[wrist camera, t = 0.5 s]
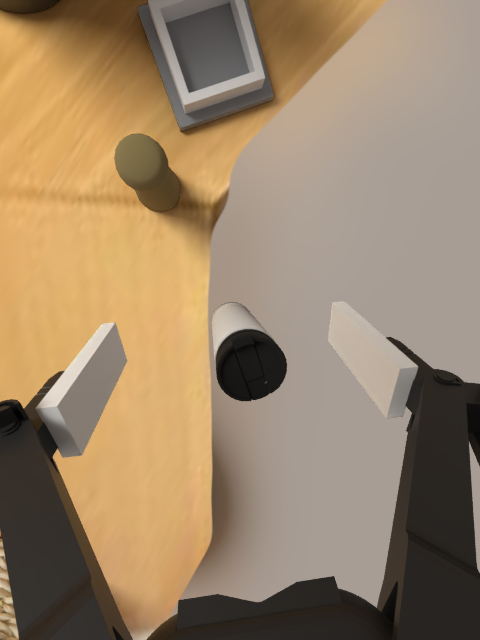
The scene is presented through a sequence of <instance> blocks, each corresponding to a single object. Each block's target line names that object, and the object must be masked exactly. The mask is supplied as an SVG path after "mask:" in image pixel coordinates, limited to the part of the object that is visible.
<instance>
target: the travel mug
mask: <svg viewBox="0 0 480 640" xmlns="http://www.w3.org/2000/svg"><path fill="white" fill-rule="evenodd" d="M212 333H213V345H214V357H215V366H216V373H217V380H218V383H219V385H220V387H221V389H222V390H223V391H224V392H225V393H226V394H227V395H229V396H230V397H231V398H234V399H236V400H239V401H251V400H256V399H260V398H263V397H265V396H267V395H268V394H269V393H272V392H274V391H275V390H276V389H278V388H279V387H280V385H281V384H282V382H283V380H284V378H285V375H286V371H287V363H286V358H285V356H284V353H283V352H282V350H281V349H280V348H279V346H278V345H277V344H276V343H275V341H274V340H273V338H272V337H271V336H270V335H269V334H268V333H267V331H266V330H265V329H264V328H263V327H262V326H261V325H260V323H259V322H258V321H257V320H256V319H255V317H254V316H253V315H252V314H251V313H250V312H249V311H248V309H247V308H246V307H245V306H243V305H242V304H239V303H236V302H228V303H225V304H222V305H221V306H219V307H218V308H217V309H216V311H215V312H214V314H213V317H212Z"/></svg>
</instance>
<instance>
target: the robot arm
mask: <svg viewBox="0 0 480 640" xmlns="http://www.w3.org/2000/svg"><path fill="white" fill-rule="evenodd" d="M58 1H59V0H0V9H3V10H7V11H10V12H17V13H32V12H37V11H41V10H44V9H46V8H48V7H50V6H52V5H54V4H55V3H56V2H58ZM328 341H329V342H330V344H331V345H332V346H333V348H334V349H335V350H336V352H337V353H338V354H339V356H340V357H341V359H342V360H343V361H344V362H345V364H346V365H347V367H348V368H349V369H350V371H351V372H352V373H353V375H354V376H355V377H356V378H357V380H358V381H359V383H360V384H361V385H362V387H363V388H364V389H365V391H366V392H367V393H368V395H369V396H370V397H371V399H372V400H373V401H374V403H375V404H376V405H377V407H378V408H379V409H380V411H381V412H382V413H383V415H384V416H385V417H386V418H394V417H403V414H404V411H405V408H406V406H407V408H408V409H409V410H410V411H411V412H412V415H411V418H410V421H409V424H408V427H407V430H406V431H407V432H408V435H407V441H406V447H405V454H404V460H403V466H402V473H401V478H400V485H399V491H398V496H397V502H396V509H395V514H394V521H393V527H392V533H391V539H390V545H389V551H388V557H387V563H386V569H385V575H384V580H383V584H382V588H381V592H380V596H379V601H378V605H377V608H376V607H375V606H373V605H372V604H370V603H369V602H367V601H366V600H365V599H362V598H361V597H359V596H357V595H355V594H353V593H350V592H348V591H345V590H342V589H338V587H337V584H336V581H335V578H334V576H332V577H326V578H319V579H313V580H307V581H300V582H296V583H294V584H293V585H291V586H289V587H287V588H285V589H284V590H282V591H280V592H278V593H277V594H275V595H273V596H271V597H269V598H268V599H266V600H264V601H262V602H252V601H247V600H242V599H238V598H233V597H228V596H223V595H219V594H216V595H210V596H203V597H197V598H190V599H184V600H179V602H178V614H176V615H174V616H173V617H171V618H169V619H168V620H167V621H165V622H164V623H163V624H161V625H160V626H159V627H158V628H157V629H156V630H155V631H154V632H153V633H152V634H151V635H150V636H149V637H148V639H147V640H480V573H479V571H478V569H477V563H476V548H475V532H474V517H473V501H472V486H471V471H470V454H469V442H470V444H471V447H472V449H473V452H474V454H475V456H476V459H477V461H478V463H479V466H480V384H476V383H466V382H463V381H462V379H460V378H459V377H458V376H456V375H454V374H453V373H450V372H447V371H444V370H439V369H433V368H431V367H430V366H429V365H428V364H427V363H425V362H424V361H423V360H422V359H421V358H419V357H418V356H417V355H416V354H414V353H413V352H412V351H411V350H410V349H408V348H407V347H406V346H405V345H404V344H403V343H401V342H400V341H398V340H395V339H394V338H391V337H386V338H385V337H384V336H383V335H382V334H381V333H380V332H379V331H377V330H376V329H375V328H374V327H373V326H372V325H371V324H369V323H368V322H367V321H366V320H365V319H364V318H363V317H362V316H360V315H359V314H358V313H357V312H356V311H355V310H354V309H352V308H351V307H350V306H349V305H348V304H347V303H346V302H344V301H342V302H333V303H332V309H331V318H330V327H329V335H328ZM126 362H127V358H126V355H125V352H124V349H123V346H122V342H121V339H120V336H119V333H118V329H117V326H116V323H105V324H102V325H101V326H100V327H99V328H98V330H97V331H96V332H95V333H94V335H93V336H92V337H91V338H90V340H89V341H88V342H87V344H86V345H85V346H84V347H83V349H82V350H81V351H80V352H79V354H78V355H77V356H76V358H75V359H74V360H73V361H72V363H71V364H70V365H69V366H68V368H67V369H66V370H65V371H60V372H58V373H57V374H55V375H54V376H52V377H51V378H50V379H49V380H48V381H47V382H46V383H45V384H44V386H43V388H41V389H40V390H39V392H38V393H37V395H35V396H34V398H33V399H32V400H31V401H30V402H29V404H28V405H27V406H26V407H25V408H24V409H23V407H22V405H21V404H20V402H19V401H18V400H13V399H11V400H5V401H2V402H0V530H1V536H2V542H3V548H4V554H5V560H6V565H7V571H8V577H9V583H10V589H11V594H12V600H13V606H14V612H15V618H16V624H17V629H18V636H19V640H133V639H132V637H131V635H130V633H129V631H128V629H127V627H126V625H125V623H124V621H123V619H122V617H121V615H120V612H119V610H118V608H117V605H116V603H115V601H114V598H113V596H112V594H111V591H110V589H109V587H108V584H107V582H106V580H105V577H104V575H103V573H102V570H101V568H100V566H99V563H98V561H97V559H96V556H95V554H94V552H93V549H92V547H91V545H90V542H89V540H88V538H87V535H86V533H85V531H84V528H83V526H82V524H81V521H80V519H79V517H78V514H77V512H76V509H75V507H74V505H73V502H72V500H71V498H70V495H69V493H68V491H67V488H66V486H65V484H64V481H63V479H62V477H61V474H60V472H59V470H58V467H57V465H56V463H55V461H54V459H53V455H54V453H55V452H56V450H57V448H58V450H59V452H60V453H61V455H62V457H71V456H80V455H82V454H83V452H84V450H85V448H86V446H87V444H88V442H89V439H90V437H91V435H92V433H93V431H94V429H95V427H96V425H97V423H98V421H99V419H100V416H101V414H102V412H103V410H104V408H105V406H106V404H107V402H108V400H109V398H110V396H111V394H112V391H113V389H114V387H115V385H116V383H117V381H118V379H119V377H120V375H121V373H122V371H123V368H124V366H125V364H126Z"/></svg>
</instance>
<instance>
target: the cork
mask: <svg viewBox="0 0 480 640" xmlns="http://www.w3.org/2000/svg"><path fill="white" fill-rule="evenodd" d="M115 164H116V169H117V171H118V173H119V175H120V177H121V178H122V180H123V181H124V182H125V183H126V184H127V185H128V186H130V187H131V188H133V189H134V190H135V191H136V193H137V196H138V198H139V200H140V201H141V202H142V203H143V205H144V206H146V207H147V208H149V209H150V210H153V211H157V212H164V211H167V210H170V209H172V208H173V207H174V206H175V205H176V204H177V202H178V200H179V198H180V193H181V188H180V182H179V180H178V178H177V176H176V175H175V173H174V172H173V171H172V170H171V169H170V168H169V166H168V159H167V157H166V154H165V152H164V150H163V148H162V147H161V146H160V145H159V143H158V142H156V141H155V140H153V139H152V138H151V137H149V136H146V135H143V134H131V135H129V136H126V137H125V138H123V139H122V140H121V141H120V142H119V144H118V146H117V148H116V151H115Z"/></svg>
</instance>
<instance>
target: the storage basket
mask: <svg viewBox="0 0 480 640" xmlns="http://www.w3.org/2000/svg"><path fill="white" fill-rule="evenodd" d="M0 640H19V636H18V629H17V624H16V618H15V612H14V606H13V600H12V594H11V589H10V583H9V577H8V571H7V565H6V560H5V554H4V548H3V542H2V539H1V538H0Z"/></svg>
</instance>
